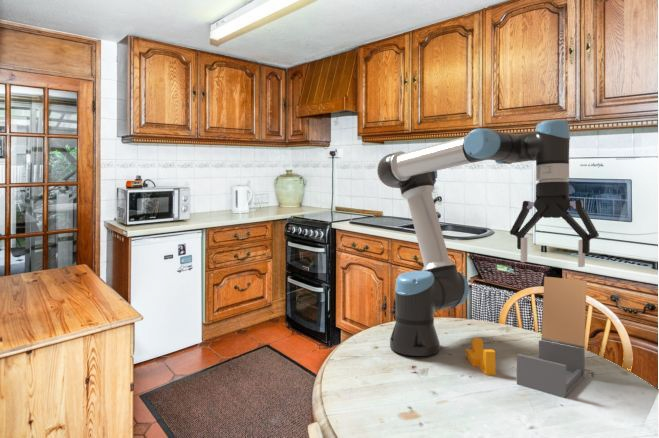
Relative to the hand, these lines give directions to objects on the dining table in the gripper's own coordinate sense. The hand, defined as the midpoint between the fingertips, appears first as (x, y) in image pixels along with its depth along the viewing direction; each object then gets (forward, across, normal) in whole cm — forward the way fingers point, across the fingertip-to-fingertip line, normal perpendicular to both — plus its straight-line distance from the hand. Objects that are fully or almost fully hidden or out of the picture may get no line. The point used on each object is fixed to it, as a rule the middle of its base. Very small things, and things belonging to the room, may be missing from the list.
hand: (551, 264), depth 105 cm
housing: (+30, 0, 0) cm, 30 cm away
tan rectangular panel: (+22, 0, +9) cm, 24 cm away
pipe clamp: (+31, -17, -4) cm, 35 cm away
